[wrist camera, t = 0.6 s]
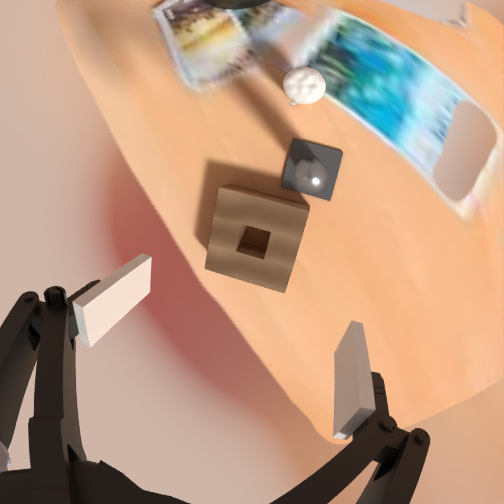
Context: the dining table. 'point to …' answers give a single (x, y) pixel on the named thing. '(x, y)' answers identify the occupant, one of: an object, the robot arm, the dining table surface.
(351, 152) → the dining table surface
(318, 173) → the pin
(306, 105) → the milkshake
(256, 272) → the hole block
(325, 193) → the mat
